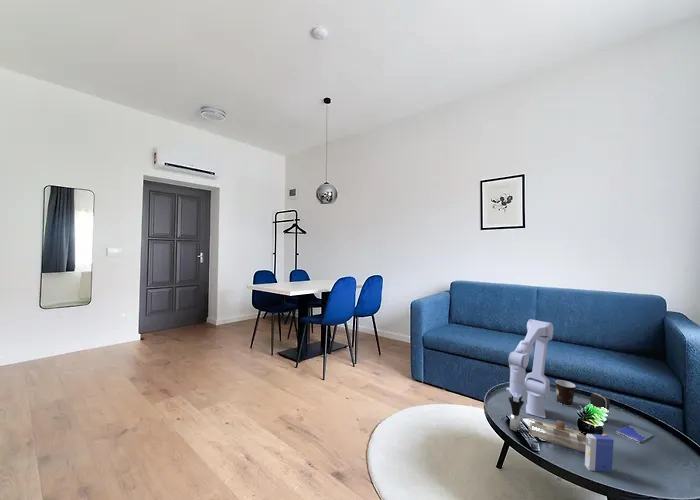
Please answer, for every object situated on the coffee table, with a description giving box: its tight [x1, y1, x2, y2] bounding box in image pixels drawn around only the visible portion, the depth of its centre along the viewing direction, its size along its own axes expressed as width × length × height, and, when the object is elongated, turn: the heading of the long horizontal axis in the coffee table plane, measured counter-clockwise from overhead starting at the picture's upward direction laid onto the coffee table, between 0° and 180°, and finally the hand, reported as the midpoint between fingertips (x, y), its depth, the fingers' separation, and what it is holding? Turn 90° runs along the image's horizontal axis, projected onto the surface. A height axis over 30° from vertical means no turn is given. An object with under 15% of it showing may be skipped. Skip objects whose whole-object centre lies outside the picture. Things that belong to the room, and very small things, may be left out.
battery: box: [589, 392, 611, 423], centre depth 149 cm, size 7×4×11 cm, turn 13°
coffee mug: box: [555, 379, 576, 406], centre depth 162 cm, size 12×9×10 cm
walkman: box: [584, 433, 615, 473], centre depth 115 cm, size 8×3×12 cm, turn 86°
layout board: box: [528, 417, 586, 453], centre depth 134 cm, size 14×24×4 cm, turn 61°
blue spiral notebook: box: [615, 425, 645, 442], centre depth 138 cm, size 2×8×12 cm
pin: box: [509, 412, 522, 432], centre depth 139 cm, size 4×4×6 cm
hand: (515, 411), depth 138 cm, fingers open, 7 cm apart
